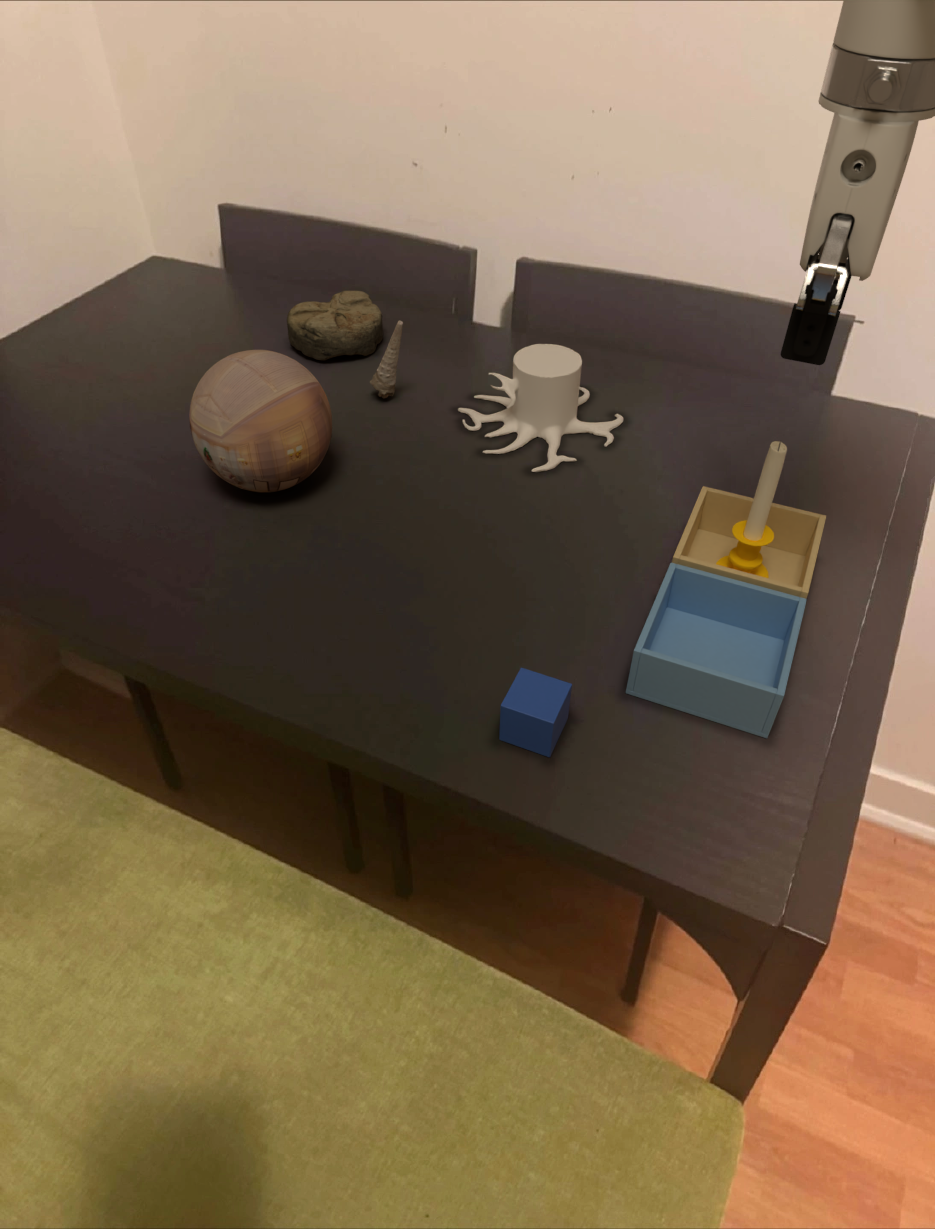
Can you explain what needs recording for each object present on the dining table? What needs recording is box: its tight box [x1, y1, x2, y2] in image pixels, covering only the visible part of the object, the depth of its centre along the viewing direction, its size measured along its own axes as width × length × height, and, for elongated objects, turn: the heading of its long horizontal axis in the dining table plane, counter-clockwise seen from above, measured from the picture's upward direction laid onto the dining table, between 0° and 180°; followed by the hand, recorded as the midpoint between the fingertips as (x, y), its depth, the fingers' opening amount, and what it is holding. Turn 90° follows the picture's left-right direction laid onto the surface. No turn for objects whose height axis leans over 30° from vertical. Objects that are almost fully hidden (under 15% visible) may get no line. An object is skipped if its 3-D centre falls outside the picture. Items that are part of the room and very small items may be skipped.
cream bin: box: [671, 485, 827, 599], centre depth 83 cm, size 12×12×6 cm
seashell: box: [369, 320, 404, 399], centre depth 106 cm, size 3×5×11 cm, turn 70°
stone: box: [286, 290, 384, 361], centre depth 119 cm, size 13×13×5 cm
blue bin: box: [625, 562, 808, 739], centre depth 75 cm, size 12×12×6 cm
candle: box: [716, 440, 788, 578], centre depth 79 cm, size 5×5×16 cm
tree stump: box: [457, 343, 624, 473], centre depth 103 cm, size 20×19×8 cm
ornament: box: [188, 349, 333, 493], centre depth 92 cm, size 15×15×15 cm
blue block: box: [498, 667, 573, 758], centre depth 70 cm, size 4×4×4 cm
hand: (811, 332), depth 67 cm, fingers open, 9 cm apart
